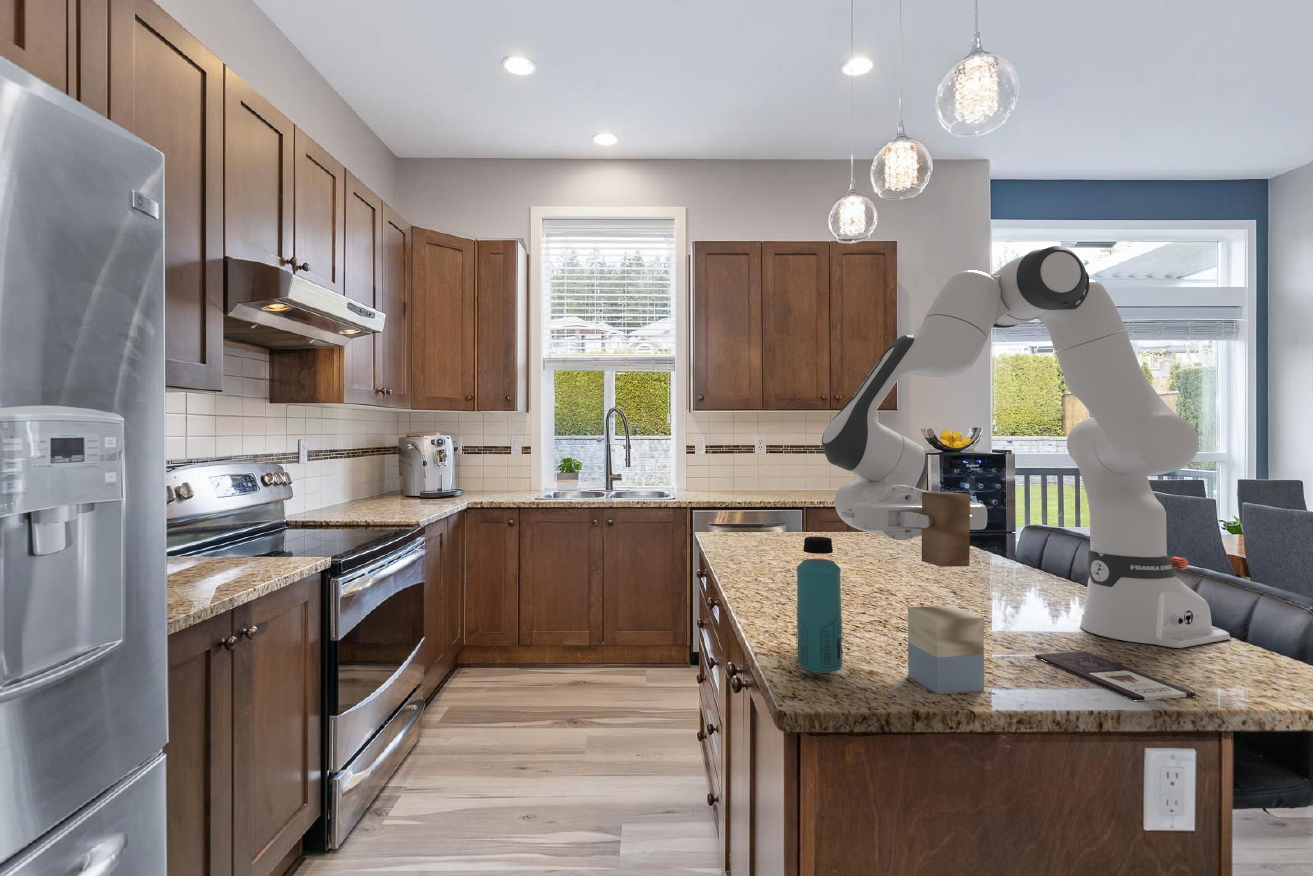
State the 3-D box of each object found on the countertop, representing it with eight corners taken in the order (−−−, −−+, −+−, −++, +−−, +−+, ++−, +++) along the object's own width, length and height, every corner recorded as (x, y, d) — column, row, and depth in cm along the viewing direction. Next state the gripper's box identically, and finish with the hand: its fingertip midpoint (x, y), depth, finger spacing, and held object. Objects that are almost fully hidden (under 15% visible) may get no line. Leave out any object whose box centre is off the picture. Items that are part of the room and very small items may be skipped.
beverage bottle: (844, 685, 92) (844, 540, 92) (795, 682, 93) (795, 539, 93) (841, 669, 98) (840, 534, 98) (795, 666, 99) (795, 533, 100)
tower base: (952, 674, 97) (951, 639, 97) (984, 691, 90) (983, 654, 90) (908, 677, 95) (908, 642, 95) (937, 695, 88) (937, 657, 89)
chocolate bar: (1085, 651, 105) (1194, 692, 87) (1085, 657, 105) (1195, 700, 87) (1035, 654, 104) (1135, 697, 86) (1035, 660, 104) (1135, 704, 86)
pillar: (949, 560, 97) (950, 492, 97) (969, 566, 92) (970, 494, 92) (921, 561, 96) (922, 492, 96) (940, 566, 91) (940, 494, 91)
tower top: (952, 639, 97) (951, 605, 97) (983, 654, 90) (983, 617, 90) (908, 642, 95) (907, 607, 95) (936, 657, 89) (936, 620, 89)
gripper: (836, 492, 105) (881, 499, 91) (952, 492, 109) (1012, 499, 95) (836, 532, 105) (881, 545, 91) (952, 530, 109) (1012, 543, 95)
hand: (949, 521), depth 93 cm, fingers closed on pillar, 4 cm apart
